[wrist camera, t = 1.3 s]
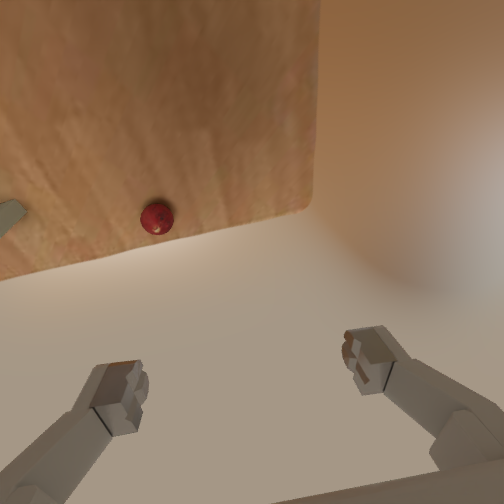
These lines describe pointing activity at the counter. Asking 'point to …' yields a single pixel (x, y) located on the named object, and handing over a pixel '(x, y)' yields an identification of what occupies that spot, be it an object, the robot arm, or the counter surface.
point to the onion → (157, 219)
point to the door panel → (10, 215)
